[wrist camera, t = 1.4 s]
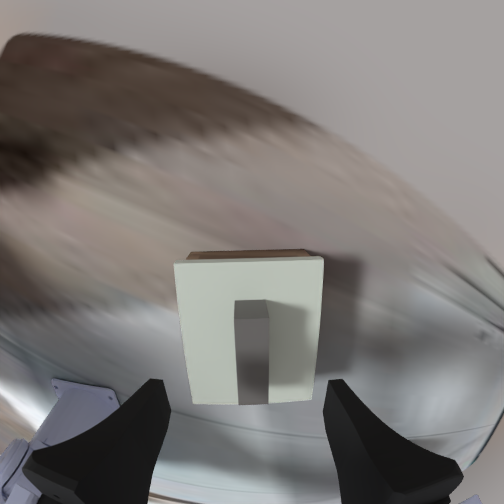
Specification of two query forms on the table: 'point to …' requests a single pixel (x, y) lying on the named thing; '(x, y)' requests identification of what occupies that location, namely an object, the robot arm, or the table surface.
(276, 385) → the lid
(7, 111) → the table surface
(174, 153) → the table surface
